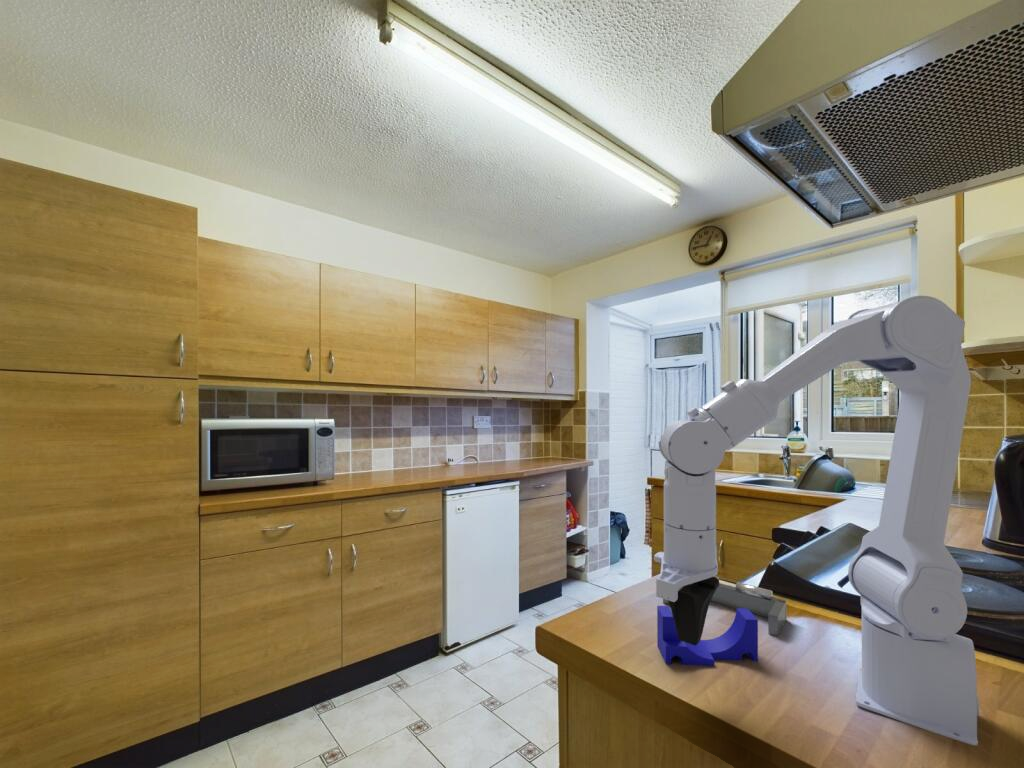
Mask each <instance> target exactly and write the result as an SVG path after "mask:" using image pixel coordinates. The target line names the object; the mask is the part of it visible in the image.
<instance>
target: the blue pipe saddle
mask: <svg viewBox="0 0 1024 768" xmlns="http://www.w3.org/2000/svg"><path fill="white" fill-rule="evenodd" d="M656 607H657V608H656V609H657V611H656V613H657V616H656V619H657V623H656V624H657V632H656V633H657V635H656V636H657V640H656V641H657V649H658V651H659V653H660V655H661V657H662V659H663V662H664V664H665V665H672V658H673V657H677V659H678V660H679V662H680V663H681V665H684V666H687V665H688V666H707V667H708V666H709V667H714V666H715V660H716V661H717V660H718V661H720V660H721V661H740V662H741V661H742V662H743V655H744V654H747V656H748V657H749V658H750V659H751V660H752V662H759V624H758V622H759V620H758V619H757V617H756V616H755V614H752V613H751V612H750V611H749V609H744V608H736V609H735V610H736V611H735V617H734V619H733V622H732V624H731V625H730V627H729V628H728V629H727V630H726V631H725V632H724V633H723V634H720V635H719V636H717V637H715V638H711V639H700V641H699V643H698V644H697V645H696V646H695V645H692V644H689V643H686V642H683V641H681V640H679V638H678V635H677V631H676V627H675V623H674V618H673V614H672V611H671V608H670V605H657V606H656Z"/></svg>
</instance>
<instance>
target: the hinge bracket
mask: <svg viewBox="0 0 1024 768" xmlns="http://www.w3.org/2000/svg"><path fill="white" fill-rule="evenodd" d="M714 577H716V578H717V579H718V580H719V581H720V578H719V576H716V575H715V576H714ZM773 595H774V593H773V590H771V589H766V588H763V587H759V586H755V585H751V584H747V583H743V582H739V581H737V582H736V584H735V586H733V585H728V584H725V583H720V582H719V586H718V587H717V589H716V591H715V593H714V595H713V597H712V599H711V602H710V603H714V604H717V605H721V606H724V607H728V608H731V609H734V610H736V608H744V609H749V611H750V612H751V613H752V614H753V615H756V616H760V617H764V618H766V619H767V620H768V623H767V625H768V632H767V634H768V635H770V636H773V637H774V636H775V637H779V635H780V633H781V632H782V630H783V627H784V626H785V624H786V621H787V599H783V598H779V597H776V596H773ZM662 603H663V604H666V605H669V603H668V600H665V599H662Z"/></svg>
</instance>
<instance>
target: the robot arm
mask: <svg viewBox="0 0 1024 768" xmlns="http://www.w3.org/2000/svg"><path fill="white" fill-rule="evenodd" d="M965 327H966V322H965V320H964V319H963V318H961V316H959V314H957V313H956V312H955V311H954V310H953V309H952V308H950V307H949V306H948V305H947V304H946V303H945V302H943V301H942V300H940V299H938V298H936V297H933V296H929V295H914V296H910V297H907V298H903V299H901V300H900V301H897V302H893V303H889V304H885V305H881V306H878V307H874V308H865V309H861V310H856V311H855V312H853V313H851V314H850V315H848V316H847V317H846V318H845V319H843V320H840V321H838V322H836V323H834V324H832V325H830V326H829V327H827V328H826V329H824V331H822V332H821V333H820V334H818V335H817V336H816V337H813V339H812V340H810V341H809V342H808V343H806V344H805V345H804V346H802V347H800V348H799V349H798V350H797V351H796V352H795V353H792V354H791V356H789V357H788V358H786V359H785V360H784V361H782V362H781V363H780V364H779V365H777V366H775V367H773V369H771V371H769V372H768V373H766V374H765V375H764V376H762V377H761V378H760V379H758V380H752V379H749V378H741V379H739V380H738V381H736V382H734V381H732V380H729V381H727V382H725V383H724V384H722V385H721V386H720V389H721V391H722V392H721V393H718V394H717V395H716V396H715V397H713V398H712V399H710V400H709V401H707V402H706V403H704V404H703V405H702V406H700V407H699V408H697V407H694V406H693V407H691V408H690V409H689V410H687V411H686V413H687V415H688V417H689V419H679V420H675V421H673V422H672V423H670V424H669V425H668V426H667V427H666V428H665V429H664V430H663V432H662V434H661V435H660V436H661V437H660V440H659V441H658V449H659V452H660V454H661V456H662V457H663V458H664V459H665V460H666V461H664V470H663V471H664V473H663V474H664V481H663V551H659V552H657V553H655V554H654V556H653V560H654V562H655V563H660V565H661V566H660V573H659V575H658V577H657V578H656V582H655V583H656V585H655V586H656V587H655V588H656V590H655V592H656V593H655V594H656V597H657V598H660V599H662V600H663V599H665V600H668V603H669V604H668V606H669V608H670V610H671V612H672V614H673V618H674V623H675V627H676V631H677V635H678V638H679V640H681V641H683V642H686V643H689V644H692V645H695V646H696V645H697V644H698V643H699V641H700V640H702V636H703V632H704V627H705V623H706V620H707V619H706V618H707V614H708V611H709V607H710V604H711V603H712V602H711V599H712V597H713V595H714V593H715V591H716V589H717V587H718V586H719V583H720V579H719V580H718V579H717V578H716V577H717V575H718V572H719V565H718V547H717V486H716V469H718V468H719V467H720V465H721V464H722V463H723V460H724V458H725V453H726V451H730V450H732V449H733V448H735V447H736V446H737V445H739V444H741V443H742V442H744V441H745V440H747V439H748V438H750V437H751V436H752V435H754V434H755V433H757V432H758V431H759V430H761V429H763V428H764V427H766V426H767V425H769V424H770V423H771V422H773V421H775V420H776V419H777V417H778V411H779V408H780V407H779V406H780V403H781V402H783V401H784V400H785V399H787V398H789V397H790V396H792V395H794V394H796V393H797V392H799V391H800V390H802V389H804V388H805V387H806V386H808V385H810V384H811V383H813V382H815V381H817V380H818V379H820V378H821V377H823V376H825V375H827V374H828V373H830V372H831V371H832V370H834V369H836V368H838V367H839V366H841V365H843V364H845V363H848V362H849V363H850V362H859V363H861V364H863V365H865V366H867V367H869V368H871V369H873V370H874V371H877V372H879V373H881V374H882V375H884V377H886V378H887V379H888V380H889V382H890V383H892V384H893V385H894V386H895V387H896V388H897V389H898V390H899V391H900V399H899V405H898V410H897V416H896V421H895V429H894V435H893V441H892V446H891V453H890V456H889V457H890V458H889V464H888V470H887V476H886V481H885V487H884V493H883V498H882V506H881V510H880V516H879V523H878V526H876V527H875V528H874V529H872V530H870V531H869V532H867V533H865V534H864V535H863V536H862V540H861V544H860V548H859V550H858V551H857V553H856V554H855V555H854V557H852V559H851V561H850V562H849V566H848V570H847V574H848V575H847V576H848V580H849V583H850V586H851V587H852V588H853V590H855V592H856V593H857V594H859V595H860V606H861V668H859V672H858V678H857V685H856V686H857V687H856V696H855V704H856V705H857V706H859V707H860V708H862V709H866V710H869V711H871V712H874V713H877V714H880V715H883V716H886V717H888V718H891V719H894V720H897V721H900V722H902V723H904V724H905V723H906V724H908V725H911V726H913V727H917V728H920V729H923V730H926V731H928V732H931V733H933V734H936V735H941V736H942V737H943V736H944V737H947V738H950V739H952V740H955V741H959V742H962V743H965V744H968V745H971V746H978V744H979V741H978V740H979V739H978V717H979V716H980V704H979V703H980V702H979V697H978V695H977V694H978V691H977V690H978V688H977V687H978V686H977V683H978V681H977V679H978V678H977V664H976V652H975V645H974V641H973V640H972V639H971V638H969V637H966V636H963V635H960V634H957V633H959V631H960V630H961V629H962V628H963V627H964V624H965V623H966V619H967V617H968V616H967V615H968V605H967V602H966V599H965V596H964V593H963V588H962V583H963V577H964V573H963V570H962V569H961V567H960V565H959V564H958V562H957V561H956V560H955V559H954V557H953V555H952V554H951V553H950V551H949V550H948V549H947V547H946V545H945V536H946V532H947V531H946V530H947V525H948V520H949V514H950V510H951V509H950V508H951V502H952V496H953V493H954V492H953V490H954V485H955V480H956V473H957V467H958V461H959V457H960V456H959V455H960V449H961V445H962V440H963V439H962V437H963V432H964V428H965V423H966V422H965V421H966V415H967V409H968V404H969V403H968V402H969V398H970V393H971V392H970V391H971V385H972V377H971V372H970V370H969V366H968V363H967V360H966V356H965V353H964V350H963V347H962V342H963V337H964V331H965ZM714 576H715V577H714Z"/></svg>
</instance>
